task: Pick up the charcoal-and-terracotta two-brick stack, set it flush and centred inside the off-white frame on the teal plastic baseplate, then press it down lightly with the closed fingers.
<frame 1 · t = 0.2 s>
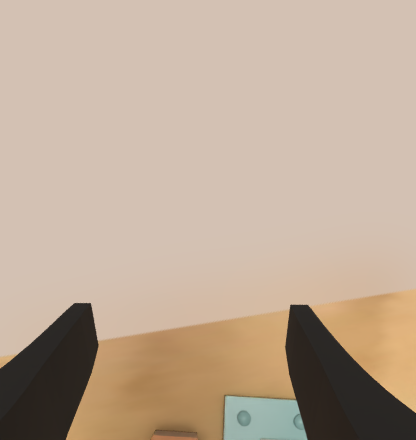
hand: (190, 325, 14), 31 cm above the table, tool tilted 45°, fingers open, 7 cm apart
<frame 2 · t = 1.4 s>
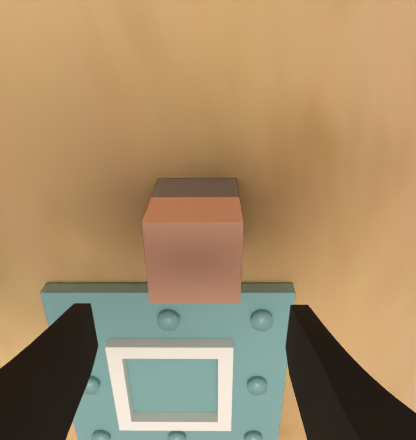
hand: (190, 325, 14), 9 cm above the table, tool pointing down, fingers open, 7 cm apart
baseplate: (174, 371, 28), on the table
brick stack: (198, 213, 22), on the table
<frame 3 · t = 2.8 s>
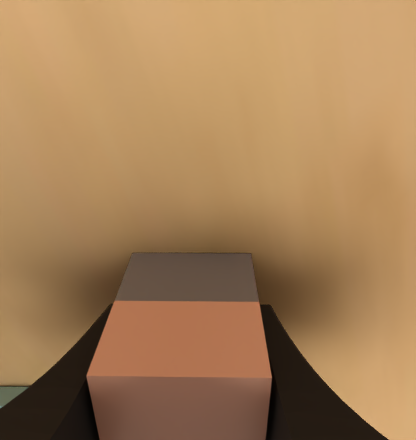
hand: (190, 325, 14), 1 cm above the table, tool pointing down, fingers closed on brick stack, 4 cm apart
brick stack: (192, 300, 15), on the table, touching gripper
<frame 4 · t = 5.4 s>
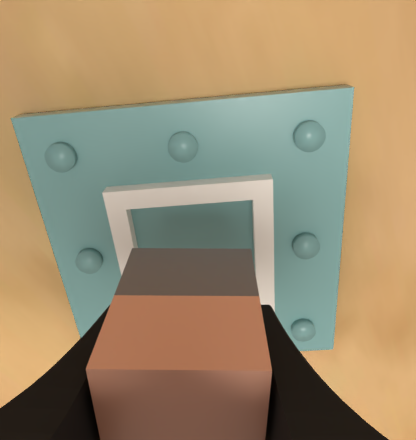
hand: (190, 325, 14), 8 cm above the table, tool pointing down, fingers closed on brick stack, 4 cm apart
baseplate: (196, 242, 22), on the table
brick stack: (192, 296, 15), point 7 cm above the table, touching gripper
when the fingers open (3 cm above the table, at t = 8.1 s): brick stack stays where it is, resting on baseplate.
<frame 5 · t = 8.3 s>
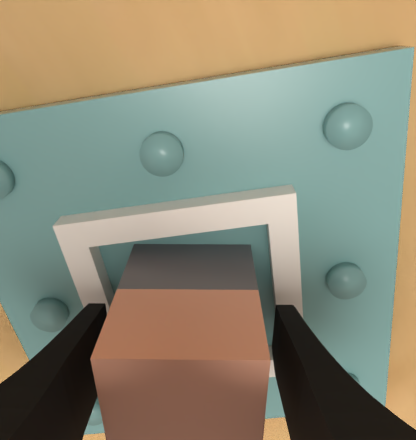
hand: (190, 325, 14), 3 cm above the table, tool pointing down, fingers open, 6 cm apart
baseplate: (194, 280, 16), on the table
brick stack: (193, 291, 15), point 1 cm above the table, touching baseplate
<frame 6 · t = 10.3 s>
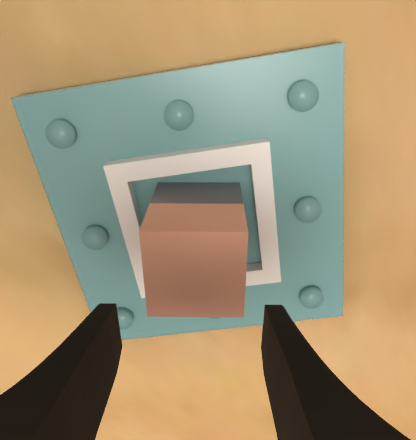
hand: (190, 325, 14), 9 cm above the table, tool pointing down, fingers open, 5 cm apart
baseplate: (199, 214, 22), on the table
brick stack: (199, 219, 21), point 1 cm above the table, touching baseplate
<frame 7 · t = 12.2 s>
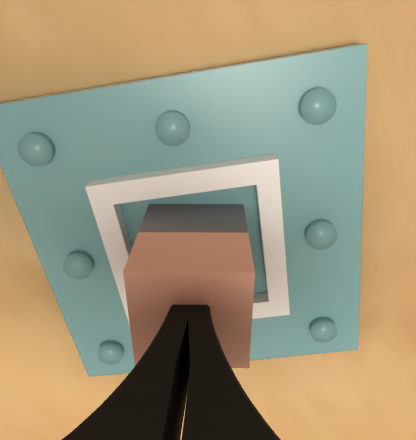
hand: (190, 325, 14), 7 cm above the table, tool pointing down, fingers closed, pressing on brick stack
baseplate: (197, 237, 19), on the table
brick stack: (196, 244, 18), point 1 cm above the table, touching baseplate, gripper
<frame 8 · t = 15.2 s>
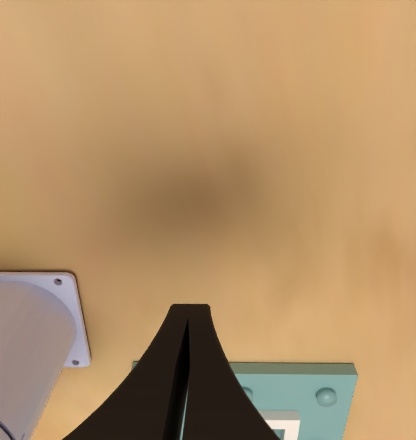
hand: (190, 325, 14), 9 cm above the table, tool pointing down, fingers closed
baseplate: (239, 433, 31), on the table
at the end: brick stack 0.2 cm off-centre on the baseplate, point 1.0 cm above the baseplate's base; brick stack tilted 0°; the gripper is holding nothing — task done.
